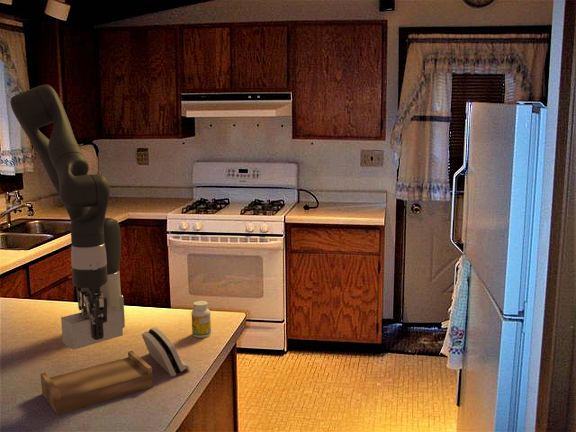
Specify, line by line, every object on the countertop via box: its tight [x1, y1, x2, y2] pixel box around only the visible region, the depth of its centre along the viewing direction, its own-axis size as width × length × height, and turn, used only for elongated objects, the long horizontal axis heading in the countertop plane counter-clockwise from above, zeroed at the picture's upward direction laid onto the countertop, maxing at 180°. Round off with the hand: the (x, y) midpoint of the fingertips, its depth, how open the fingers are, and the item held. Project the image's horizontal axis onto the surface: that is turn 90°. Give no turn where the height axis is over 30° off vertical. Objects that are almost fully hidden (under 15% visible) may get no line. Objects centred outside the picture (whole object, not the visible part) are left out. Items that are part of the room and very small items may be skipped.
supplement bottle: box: [191, 300, 212, 339], centre depth 176 cm, size 5×5×10 cm
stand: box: [40, 350, 154, 416], centre depth 143 cm, size 12×22×5 cm, turn 126°
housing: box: [60, 305, 124, 350], centre depth 140 cm, size 6×12×6 cm, turn 134°
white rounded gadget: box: [141, 327, 191, 377], centre depth 157 cm, size 17×5×10 cm, turn 32°
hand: (93, 334), depth 141 cm, fingers closed on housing, 6 cm apart
